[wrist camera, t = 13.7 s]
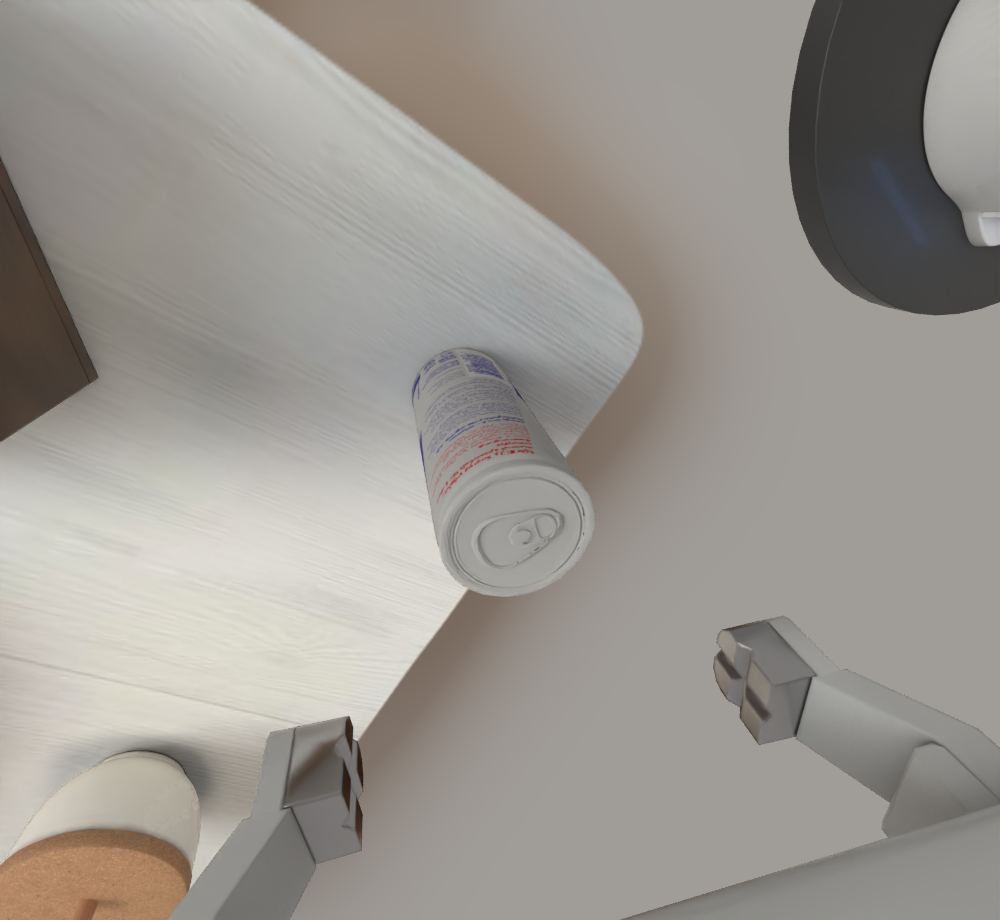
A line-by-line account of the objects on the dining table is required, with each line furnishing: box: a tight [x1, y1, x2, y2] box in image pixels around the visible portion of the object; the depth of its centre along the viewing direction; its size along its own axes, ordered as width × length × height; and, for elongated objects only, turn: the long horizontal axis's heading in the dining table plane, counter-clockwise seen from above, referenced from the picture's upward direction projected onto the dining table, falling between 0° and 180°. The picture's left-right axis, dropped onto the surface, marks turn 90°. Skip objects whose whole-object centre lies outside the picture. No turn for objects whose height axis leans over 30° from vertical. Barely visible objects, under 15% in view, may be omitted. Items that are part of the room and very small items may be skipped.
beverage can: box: [412, 348, 595, 597], centre depth 25 cm, size 6×6×15 cm
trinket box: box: [0, 751, 201, 920], centre depth 35 cm, size 11×11×9 cm
